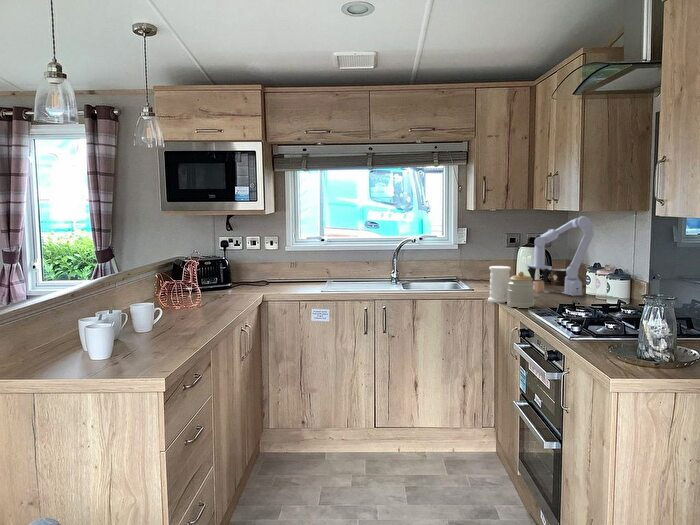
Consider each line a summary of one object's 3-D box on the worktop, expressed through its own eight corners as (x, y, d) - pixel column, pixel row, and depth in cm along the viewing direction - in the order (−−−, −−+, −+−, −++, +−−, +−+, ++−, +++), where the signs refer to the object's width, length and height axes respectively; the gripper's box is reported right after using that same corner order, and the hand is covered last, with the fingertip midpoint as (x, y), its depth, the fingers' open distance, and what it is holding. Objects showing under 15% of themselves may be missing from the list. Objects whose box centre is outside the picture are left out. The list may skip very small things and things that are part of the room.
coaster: (551, 293, 308) (551, 292, 308) (534, 294, 307) (534, 293, 307) (542, 290, 318) (542, 289, 318) (526, 291, 317) (526, 290, 316)
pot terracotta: (545, 291, 312) (546, 281, 311) (540, 292, 309) (540, 282, 308) (537, 290, 316) (537, 280, 316) (531, 291, 313) (531, 281, 312)
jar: (507, 308, 267) (508, 273, 265) (505, 303, 280) (506, 269, 278) (535, 309, 265) (536, 273, 263) (532, 304, 277) (533, 270, 275)
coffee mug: (568, 286, 331) (569, 270, 330) (554, 287, 332) (555, 270, 331) (561, 284, 343) (562, 268, 342) (548, 284, 343) (548, 268, 342)
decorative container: (507, 298, 294) (508, 265, 292) (513, 302, 282) (513, 268, 280) (485, 298, 294) (486, 265, 292) (490, 302, 283) (491, 268, 281)
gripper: (555, 258, 307) (554, 282, 309) (532, 256, 318) (531, 279, 320) (548, 259, 303) (547, 283, 304) (525, 257, 314) (524, 280, 315)
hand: (539, 281), depth 312 cm, fingers open, 7 cm apart
